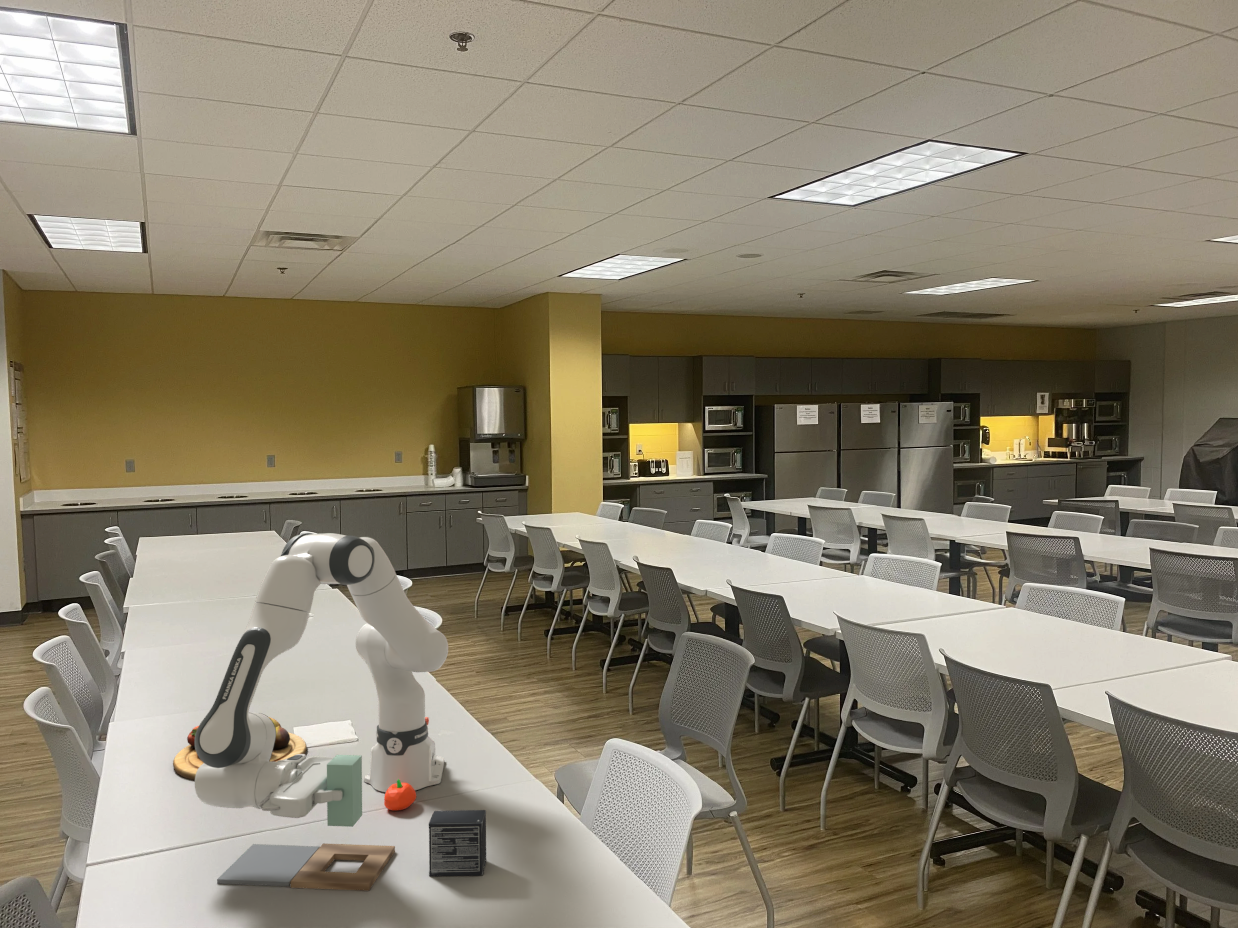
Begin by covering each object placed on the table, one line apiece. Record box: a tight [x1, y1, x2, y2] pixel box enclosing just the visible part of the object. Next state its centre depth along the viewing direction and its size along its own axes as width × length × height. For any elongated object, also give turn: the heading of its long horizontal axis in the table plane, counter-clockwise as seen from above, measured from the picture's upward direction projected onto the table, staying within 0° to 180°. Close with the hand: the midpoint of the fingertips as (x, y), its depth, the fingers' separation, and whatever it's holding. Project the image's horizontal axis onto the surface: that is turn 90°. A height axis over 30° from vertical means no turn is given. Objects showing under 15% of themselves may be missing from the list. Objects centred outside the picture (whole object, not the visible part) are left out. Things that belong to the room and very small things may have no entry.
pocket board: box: [290, 842, 396, 892], centre depth 170 cm, size 15×15×1 cm
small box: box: [428, 809, 487, 877], centre depth 170 cm, size 11×6×10 cm, turn 92°
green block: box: [326, 754, 363, 828], centre depth 169 cm, size 5×5×12 cm
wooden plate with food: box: [172, 716, 308, 781], centre depth 227 cm, size 32×32×8 cm
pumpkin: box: [383, 779, 417, 812], centre depth 197 cm, size 7×8×6 cm
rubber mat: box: [216, 843, 321, 887], centre depth 171 cm, size 14×14×1 cm
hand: (349, 787), depth 169 cm, fingers closed on green block, 5 cm apart
